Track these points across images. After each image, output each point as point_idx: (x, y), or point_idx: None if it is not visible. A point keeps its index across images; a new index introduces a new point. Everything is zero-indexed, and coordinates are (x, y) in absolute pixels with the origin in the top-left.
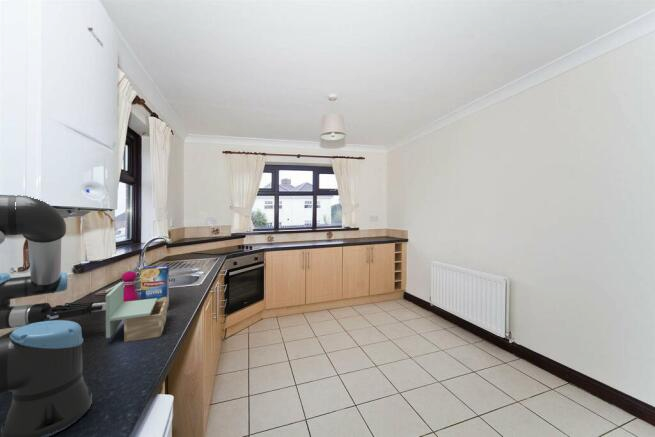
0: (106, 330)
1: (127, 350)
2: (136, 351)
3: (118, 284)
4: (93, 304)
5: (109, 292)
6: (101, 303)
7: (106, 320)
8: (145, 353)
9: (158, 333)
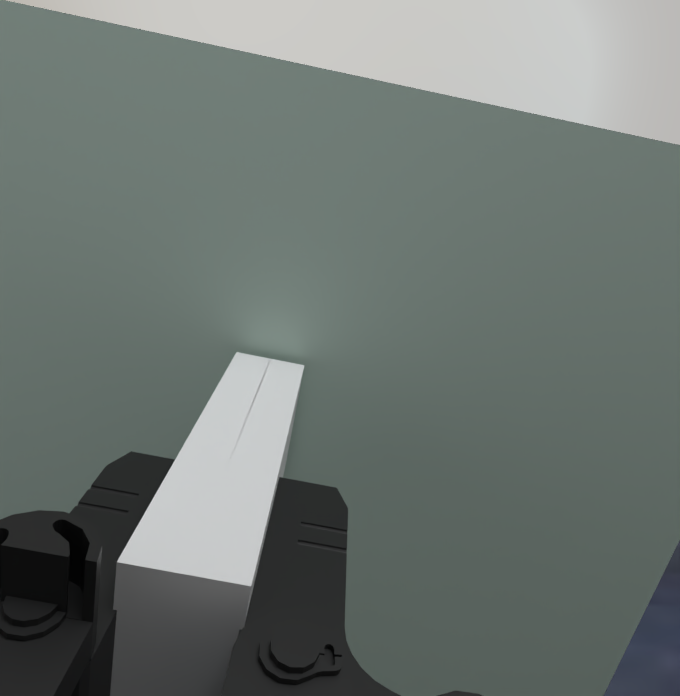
0: (607, 678)
1: (640, 648)
2: (654, 604)
3: (41, 9)
4: (221, 557)
5: (645, 138)
6: (248, 447)
7: (660, 566)
8: (677, 569)
9: None
